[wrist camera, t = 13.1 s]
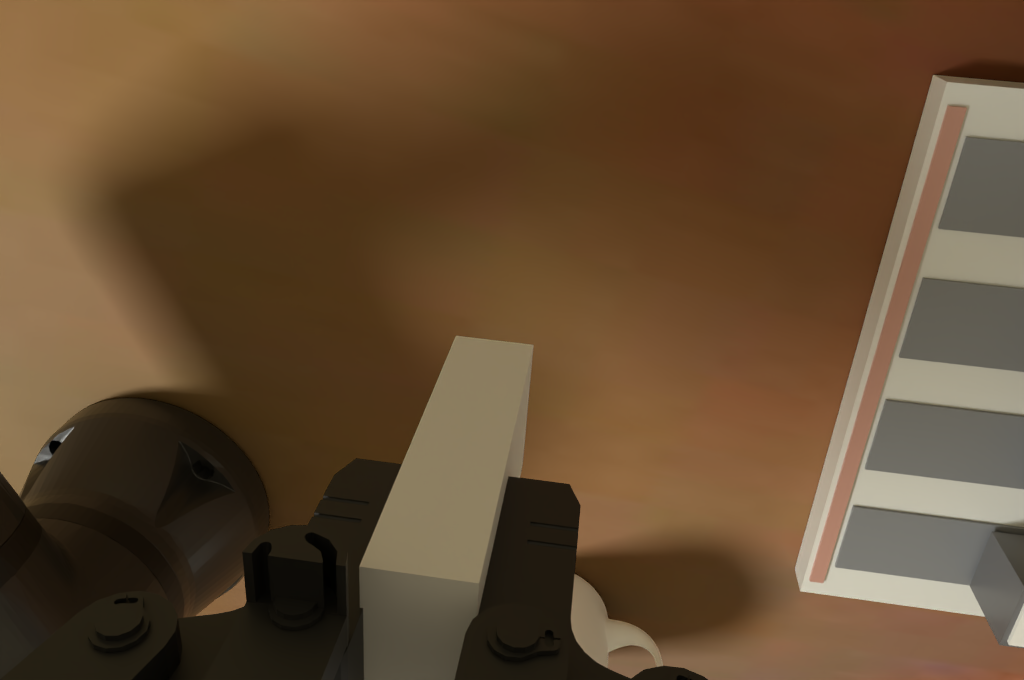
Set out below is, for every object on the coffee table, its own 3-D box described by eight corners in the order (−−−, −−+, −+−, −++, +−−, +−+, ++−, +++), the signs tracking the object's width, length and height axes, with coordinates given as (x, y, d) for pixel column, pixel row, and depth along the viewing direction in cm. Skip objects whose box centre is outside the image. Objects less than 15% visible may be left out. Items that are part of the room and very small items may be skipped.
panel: (794, 568, 54) (800, 593, 52) (933, 74, 40) (948, 82, 38) (1027, 600, 53) (1042, 626, 51) (1249, 103, 39) (1281, 112, 37)
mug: (666, 655, 58) (672, 800, 49) (493, 658, 60) (467, 798, 51) (655, 555, 55) (660, 690, 45) (472, 562, 57) (439, 693, 47)
